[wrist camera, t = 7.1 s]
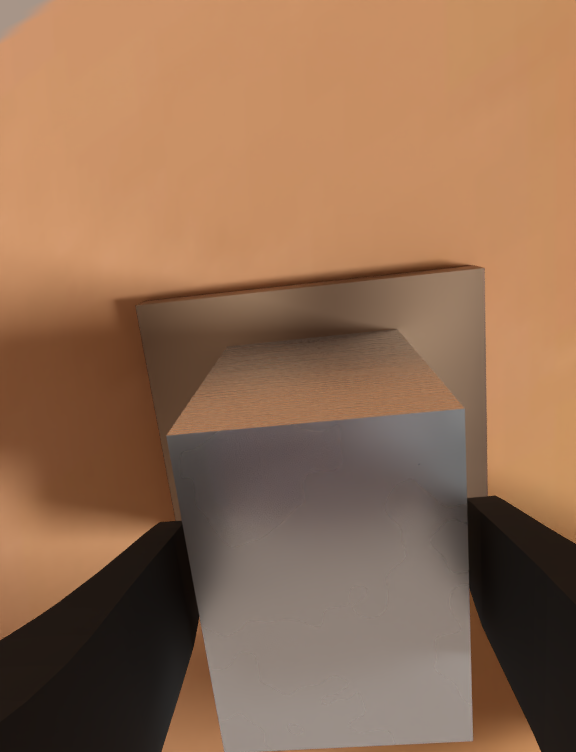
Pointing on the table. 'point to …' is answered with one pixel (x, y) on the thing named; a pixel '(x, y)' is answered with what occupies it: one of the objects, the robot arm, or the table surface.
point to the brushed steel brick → (329, 543)
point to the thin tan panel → (326, 318)
